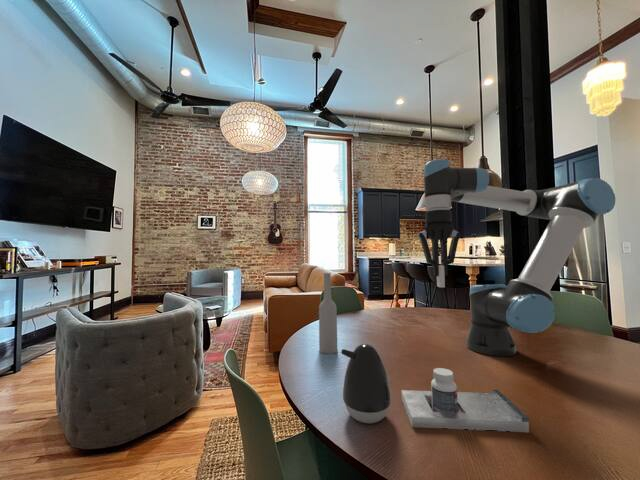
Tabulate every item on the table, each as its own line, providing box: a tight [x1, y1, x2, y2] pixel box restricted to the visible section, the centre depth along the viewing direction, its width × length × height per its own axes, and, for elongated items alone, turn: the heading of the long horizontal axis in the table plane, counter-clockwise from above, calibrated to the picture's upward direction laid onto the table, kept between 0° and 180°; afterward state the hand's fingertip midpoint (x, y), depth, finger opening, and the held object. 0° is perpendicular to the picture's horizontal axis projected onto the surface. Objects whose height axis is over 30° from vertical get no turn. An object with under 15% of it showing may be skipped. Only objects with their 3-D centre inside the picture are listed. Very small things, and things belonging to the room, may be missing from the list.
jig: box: [401, 389, 530, 434], centre depth 60 cm, size 22×11×3 cm, turn 84°
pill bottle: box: [430, 367, 459, 413], centre depth 61 cm, size 5×5×9 cm
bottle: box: [318, 272, 338, 355], centre depth 101 cm, size 7×7×28 cm
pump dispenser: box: [340, 343, 392, 424], centre depth 60 cm, size 10×10×15 cm
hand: (440, 286), depth 85 cm, fingers closed
